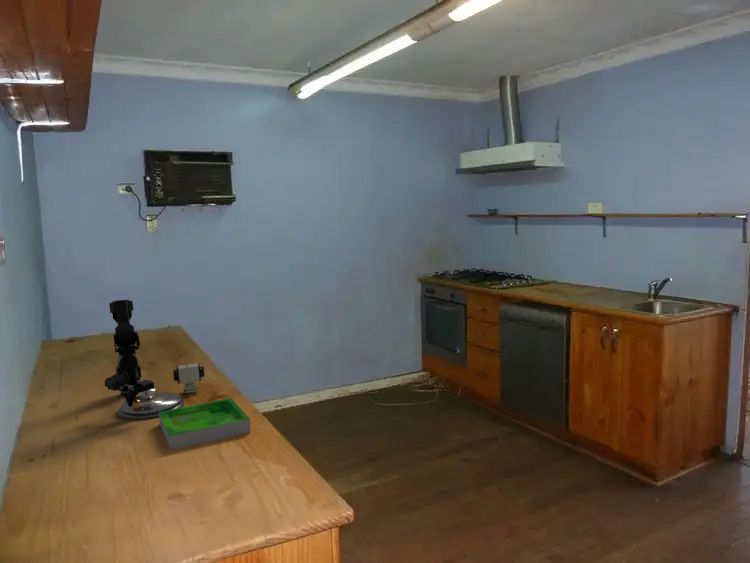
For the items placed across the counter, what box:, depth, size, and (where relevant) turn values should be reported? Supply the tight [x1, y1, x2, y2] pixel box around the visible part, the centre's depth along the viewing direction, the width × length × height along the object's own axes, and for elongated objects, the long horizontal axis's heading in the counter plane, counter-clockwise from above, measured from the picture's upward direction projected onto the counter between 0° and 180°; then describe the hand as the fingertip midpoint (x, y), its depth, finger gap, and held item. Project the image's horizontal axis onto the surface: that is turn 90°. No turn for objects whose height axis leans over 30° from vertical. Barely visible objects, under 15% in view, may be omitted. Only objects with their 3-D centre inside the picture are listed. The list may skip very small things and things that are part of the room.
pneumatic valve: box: [172, 362, 205, 394], centre depth 231 cm, size 6×12×12 cm, turn 110°
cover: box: [138, 386, 157, 400], centre depth 217 cm, size 6×6×4 cm
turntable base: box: [117, 397, 185, 421], centre depth 213 cm, size 23×23×1 cm
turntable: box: [120, 391, 182, 415], centre depth 213 cm, size 21×21×5 cm
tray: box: [158, 397, 252, 451], centre depth 191 cm, size 25×25×5 cm
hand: (130, 406), depth 205 cm, fingers closed
